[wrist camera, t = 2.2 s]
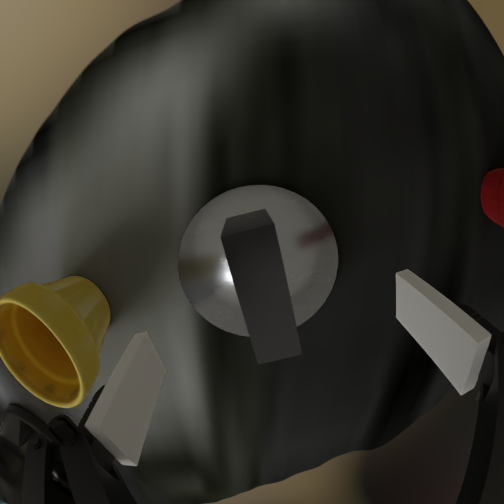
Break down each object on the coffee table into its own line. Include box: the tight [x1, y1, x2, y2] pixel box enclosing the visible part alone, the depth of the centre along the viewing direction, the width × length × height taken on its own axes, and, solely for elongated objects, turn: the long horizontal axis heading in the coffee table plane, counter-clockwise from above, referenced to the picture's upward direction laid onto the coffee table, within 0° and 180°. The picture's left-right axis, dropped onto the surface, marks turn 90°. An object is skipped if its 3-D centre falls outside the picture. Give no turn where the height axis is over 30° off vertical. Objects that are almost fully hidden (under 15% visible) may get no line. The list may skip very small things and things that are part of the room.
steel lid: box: [178, 184, 338, 364], centre depth 20 cm, size 13×13×7 cm
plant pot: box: [0, 276, 110, 408], centre depth 19 cm, size 10×10×10 cm
